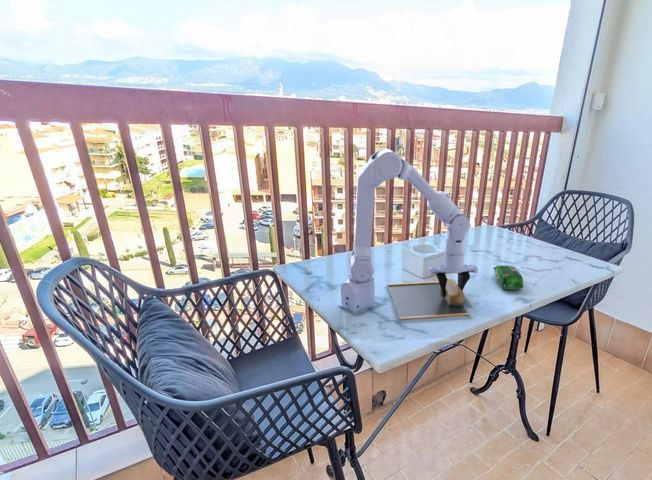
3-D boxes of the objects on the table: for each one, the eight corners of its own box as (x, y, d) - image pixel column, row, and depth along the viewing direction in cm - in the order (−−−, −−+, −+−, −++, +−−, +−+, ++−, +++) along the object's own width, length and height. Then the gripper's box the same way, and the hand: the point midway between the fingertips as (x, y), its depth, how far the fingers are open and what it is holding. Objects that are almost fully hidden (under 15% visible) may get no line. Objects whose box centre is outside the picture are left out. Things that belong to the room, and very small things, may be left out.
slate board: (399, 322, 110) (399, 318, 109) (387, 287, 131) (387, 283, 131) (469, 318, 113) (469, 314, 112) (446, 284, 134) (446, 280, 134)
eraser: (449, 306, 117) (449, 295, 116) (439, 289, 128) (439, 279, 126) (463, 305, 118) (464, 294, 116) (452, 289, 128) (453, 278, 127)
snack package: (511, 275, 143) (513, 261, 140) (524, 293, 129) (526, 277, 126) (491, 275, 142) (493, 261, 140) (502, 293, 129) (504, 278, 126)
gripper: (473, 247, 121) (469, 288, 127) (427, 249, 119) (425, 291, 125) (481, 255, 115) (477, 297, 121) (432, 257, 112) (430, 300, 119)
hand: (451, 295), depth 123 cm, fingers closed on eraser, 4 cm apart
